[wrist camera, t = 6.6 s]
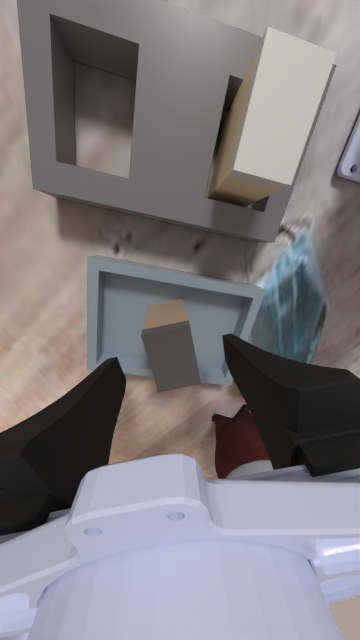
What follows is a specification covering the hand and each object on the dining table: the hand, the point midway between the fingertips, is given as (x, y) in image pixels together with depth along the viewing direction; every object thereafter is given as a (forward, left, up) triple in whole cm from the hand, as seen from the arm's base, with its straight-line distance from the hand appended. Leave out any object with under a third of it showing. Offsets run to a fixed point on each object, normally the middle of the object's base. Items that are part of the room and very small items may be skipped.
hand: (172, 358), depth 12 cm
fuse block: (+2, -13, -6) cm, 14 cm away
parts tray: (0, 0, -6) cm, 6 cm away
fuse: (-2, -13, -6) cm, 15 cm away
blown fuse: (0, 0, -6) cm, 6 cm away
